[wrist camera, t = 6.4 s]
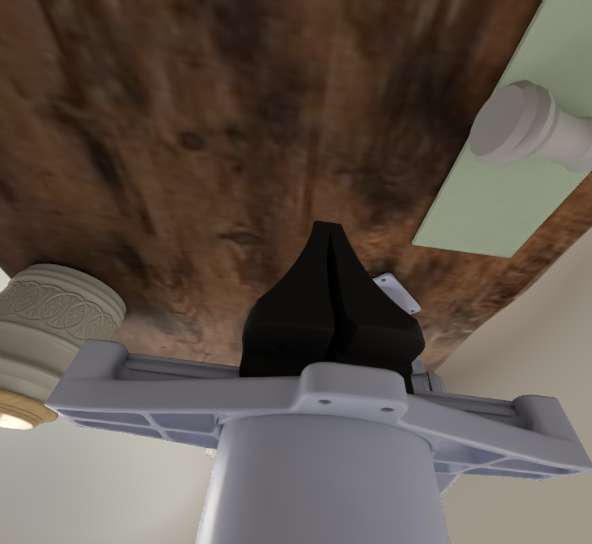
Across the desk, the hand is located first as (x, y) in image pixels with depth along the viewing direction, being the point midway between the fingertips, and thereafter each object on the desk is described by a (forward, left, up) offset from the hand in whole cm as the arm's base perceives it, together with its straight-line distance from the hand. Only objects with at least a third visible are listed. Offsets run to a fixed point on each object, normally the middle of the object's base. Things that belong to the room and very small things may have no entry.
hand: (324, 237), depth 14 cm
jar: (-37, +6, -11) cm, 39 cm away
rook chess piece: (+9, -4, -8) cm, 13 cm away
